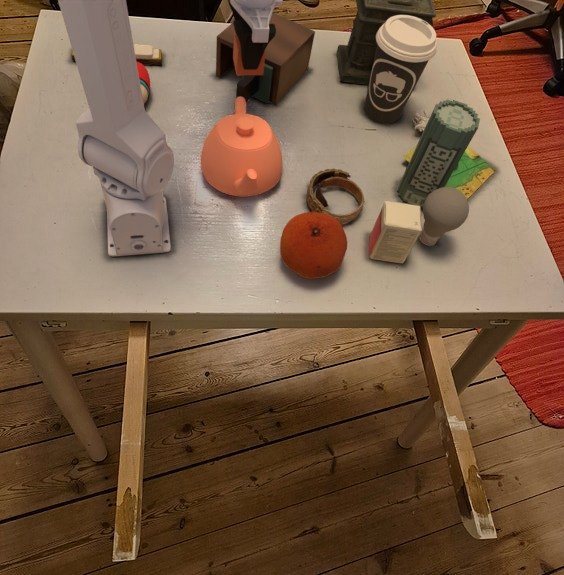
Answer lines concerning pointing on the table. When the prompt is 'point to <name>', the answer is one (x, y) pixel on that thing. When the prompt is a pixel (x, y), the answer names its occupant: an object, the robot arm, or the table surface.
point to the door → (256, 85)
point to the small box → (395, 232)
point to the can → (438, 150)
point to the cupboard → (274, 54)
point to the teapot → (241, 154)
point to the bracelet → (333, 179)
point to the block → (238, 61)
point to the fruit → (313, 244)
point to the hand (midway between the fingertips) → (247, 58)
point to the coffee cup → (398, 65)
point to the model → (374, 34)
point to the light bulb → (443, 213)
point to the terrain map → (466, 172)
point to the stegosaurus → (421, 121)
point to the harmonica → (144, 54)
